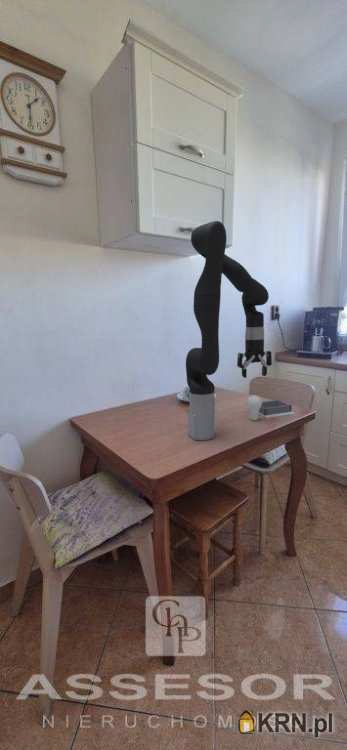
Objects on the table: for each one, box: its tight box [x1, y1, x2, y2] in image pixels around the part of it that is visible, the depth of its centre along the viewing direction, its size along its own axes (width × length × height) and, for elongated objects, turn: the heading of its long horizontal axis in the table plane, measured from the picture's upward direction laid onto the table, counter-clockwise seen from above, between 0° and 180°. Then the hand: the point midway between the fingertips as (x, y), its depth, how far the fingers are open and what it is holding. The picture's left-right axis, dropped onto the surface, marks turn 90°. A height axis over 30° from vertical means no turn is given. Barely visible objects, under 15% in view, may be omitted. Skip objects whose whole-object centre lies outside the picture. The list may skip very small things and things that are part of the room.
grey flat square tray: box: [258, 399, 297, 419], centre depth 146 cm, size 15×15×3 cm
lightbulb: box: [246, 394, 263, 422], centre depth 134 cm, size 6×6×11 cm
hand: (254, 376), depth 133 cm, fingers open, 8 cm apart
